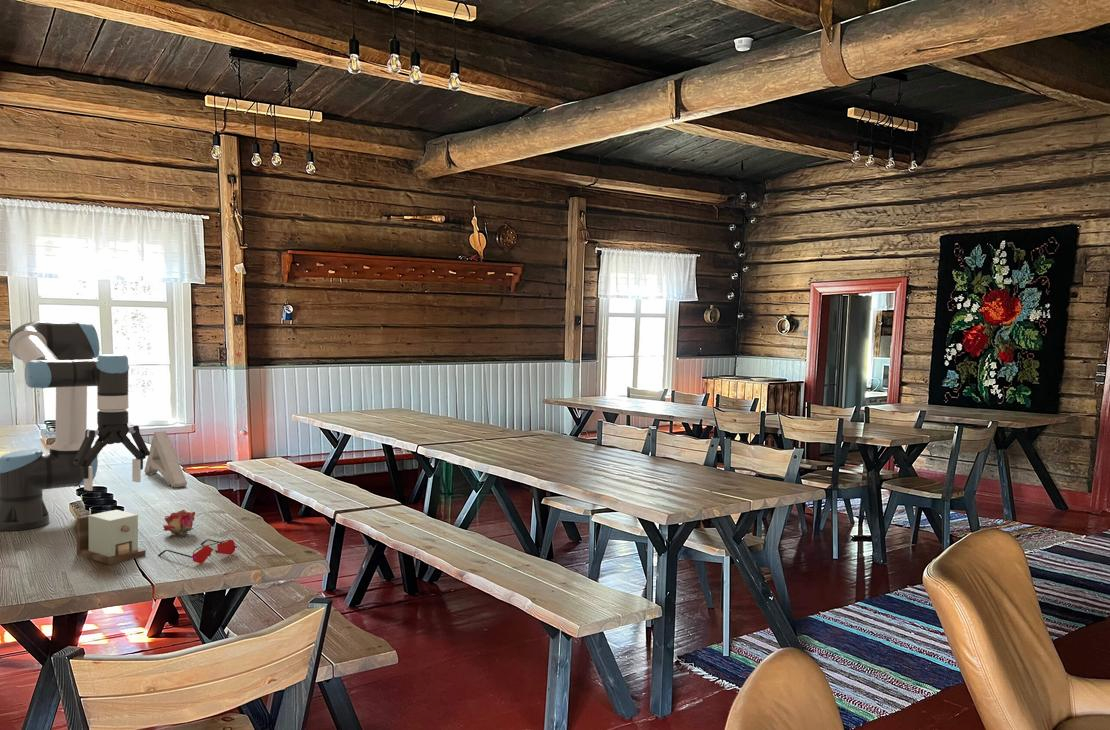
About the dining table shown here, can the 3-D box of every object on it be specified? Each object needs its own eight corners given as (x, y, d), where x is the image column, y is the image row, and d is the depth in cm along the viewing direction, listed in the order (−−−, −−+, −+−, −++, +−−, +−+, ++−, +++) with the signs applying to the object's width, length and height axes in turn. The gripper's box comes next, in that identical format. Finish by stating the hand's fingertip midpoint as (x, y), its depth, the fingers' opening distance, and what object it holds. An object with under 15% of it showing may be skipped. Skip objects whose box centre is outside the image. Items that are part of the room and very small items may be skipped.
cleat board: (76, 554, 218) (76, 517, 217) (112, 545, 227) (112, 510, 226) (110, 564, 210) (110, 526, 210) (145, 555, 219) (145, 518, 218)
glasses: (194, 567, 211) (194, 549, 211) (157, 557, 219) (157, 539, 219) (238, 555, 223) (238, 538, 223) (201, 545, 231) (201, 528, 231)
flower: (205, 530, 240) (200, 506, 243) (178, 530, 232) (173, 506, 235) (186, 543, 243) (181, 520, 246) (158, 544, 235) (154, 520, 238)
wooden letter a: (164, 523, 311) (144, 471, 328) (175, 521, 314) (155, 469, 331) (175, 484, 301) (154, 432, 318) (187, 482, 304) (165, 431, 321)
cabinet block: (88, 550, 217) (88, 515, 216) (116, 543, 224) (116, 509, 223) (112, 557, 211) (112, 521, 211) (140, 550, 218) (140, 515, 218)
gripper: (147, 405, 228) (147, 476, 230) (58, 413, 207) (58, 491, 208) (163, 407, 225) (162, 480, 226) (74, 415, 203) (74, 495, 204)
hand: (113, 485), depth 217 cm, fingers open, 13 cm apart
